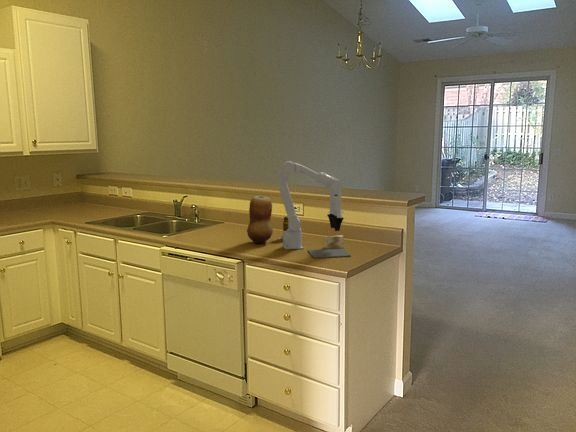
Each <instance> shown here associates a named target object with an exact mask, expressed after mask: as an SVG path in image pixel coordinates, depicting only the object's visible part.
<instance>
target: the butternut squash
mask: <svg viewBox="0 0 576 432" xmlns="http://www.w3.org/2000/svg"><path fill="white" fill-rule="evenodd" d="M249 201H250V202H249V207H248V209H249V210H248V213H249V214H248V215H249V223H248V226H247V230H246V232H247V237H248V238H249V239H250V240H251V241H252V242H253V243H255V244H263V243H266V242H267V241H268V240H270V239H271V237H272V235H273V231H274V230H273V226H272V223H271V217H272V213H273V202H272V198H270V197H268V196H264V195H263V196H262V195H256V196H253V197H251V199H250V200H249Z"/></svg>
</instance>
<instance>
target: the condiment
mask: <svg viewBox="0 0 576 432" xmlns="http://www.w3.org/2000/svg"><path fill="white" fill-rule="evenodd" d="M282 224H283V226H282V227H283V228H282V230H283V231H287V229H288V228H289V227H288V217H287V216H283V223H282ZM283 231H282V232H283ZM278 240H283V235H280V237H279V238H278Z"/></svg>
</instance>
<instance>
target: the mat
mask: <svg viewBox="0 0 576 432" xmlns="http://www.w3.org/2000/svg"><path fill="white" fill-rule="evenodd" d="M307 252H308V253H309V255H310V256H311V257H312V258H313V259H326V258H328V259H329V258H331V259H332V257H333V258H346V257H347V258H351V257H352V255H351V253H349V252H348V251H347V250H346V249H344V248H328V249H326V248H321V249H318V248H317V249H308V250H307Z"/></svg>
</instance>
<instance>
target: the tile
mask: <svg viewBox="0 0 576 432" xmlns="http://www.w3.org/2000/svg"><path fill="white" fill-rule="evenodd" d="M324 239H325V240H324V247H325V248H324V249H339V248H343V249H344V244H345V243H344V242H345V240H344V239H345V237H344V235H342V234H341V235H340V234H338V235H325V237H324Z"/></svg>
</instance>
